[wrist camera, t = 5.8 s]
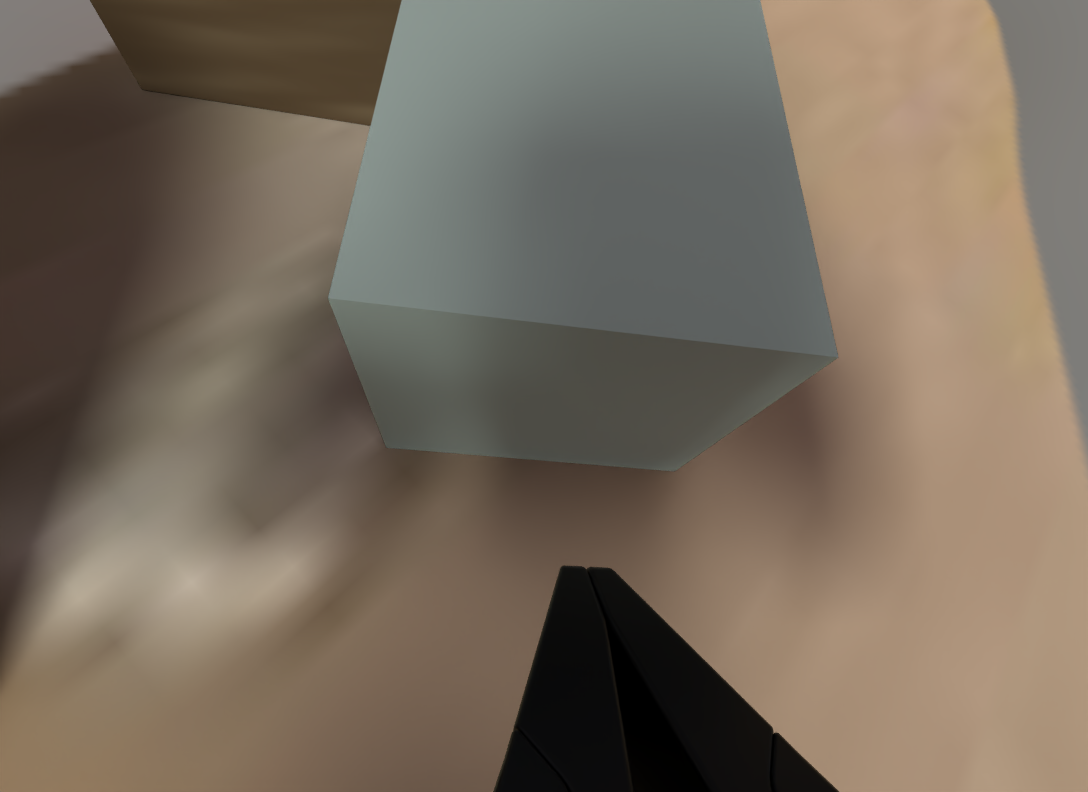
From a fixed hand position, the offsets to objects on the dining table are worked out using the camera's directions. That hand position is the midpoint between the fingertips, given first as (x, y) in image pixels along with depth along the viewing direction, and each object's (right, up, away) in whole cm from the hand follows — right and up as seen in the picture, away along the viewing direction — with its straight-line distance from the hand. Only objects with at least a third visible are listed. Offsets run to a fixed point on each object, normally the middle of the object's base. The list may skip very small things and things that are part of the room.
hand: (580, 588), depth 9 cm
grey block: (-1, +7, +10) cm, 13 cm away
